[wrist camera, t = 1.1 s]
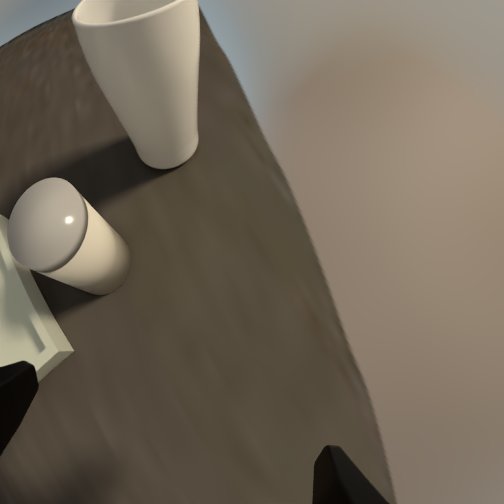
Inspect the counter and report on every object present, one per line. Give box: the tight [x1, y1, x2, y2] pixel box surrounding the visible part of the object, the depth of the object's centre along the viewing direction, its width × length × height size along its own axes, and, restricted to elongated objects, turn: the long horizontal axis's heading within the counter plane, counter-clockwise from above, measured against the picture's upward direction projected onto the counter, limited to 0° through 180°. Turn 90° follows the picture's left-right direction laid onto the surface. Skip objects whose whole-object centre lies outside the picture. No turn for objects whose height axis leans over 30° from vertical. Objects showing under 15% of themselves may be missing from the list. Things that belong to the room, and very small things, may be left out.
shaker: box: [7, 178, 131, 295], centre depth 18 cm, size 5×5×9 cm
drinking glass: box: [72, 0, 200, 169], centre depth 18 cm, size 7×7×15 cm
